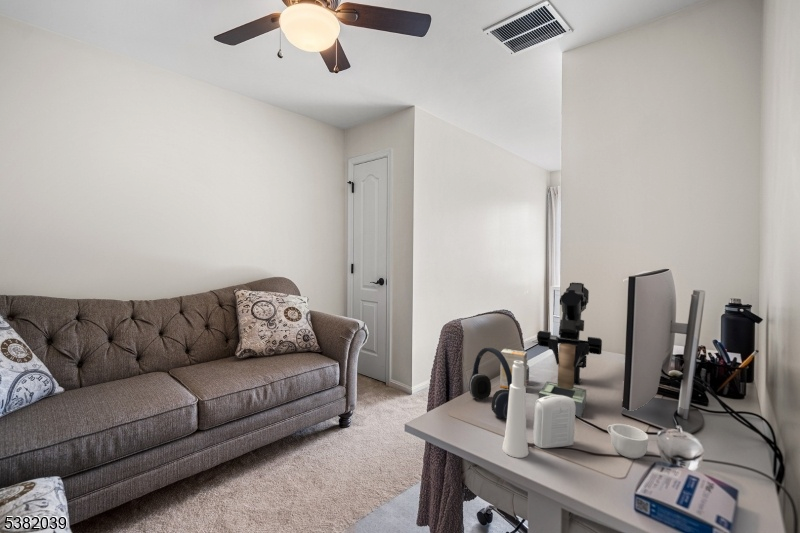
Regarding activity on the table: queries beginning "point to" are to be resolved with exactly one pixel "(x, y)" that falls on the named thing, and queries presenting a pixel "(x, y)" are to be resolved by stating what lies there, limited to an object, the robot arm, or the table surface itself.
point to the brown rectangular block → (566, 366)
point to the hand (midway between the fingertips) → (565, 365)
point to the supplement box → (510, 358)
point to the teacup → (628, 440)
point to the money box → (574, 394)
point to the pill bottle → (527, 375)
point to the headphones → (482, 385)
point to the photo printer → (554, 421)
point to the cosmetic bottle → (516, 415)
